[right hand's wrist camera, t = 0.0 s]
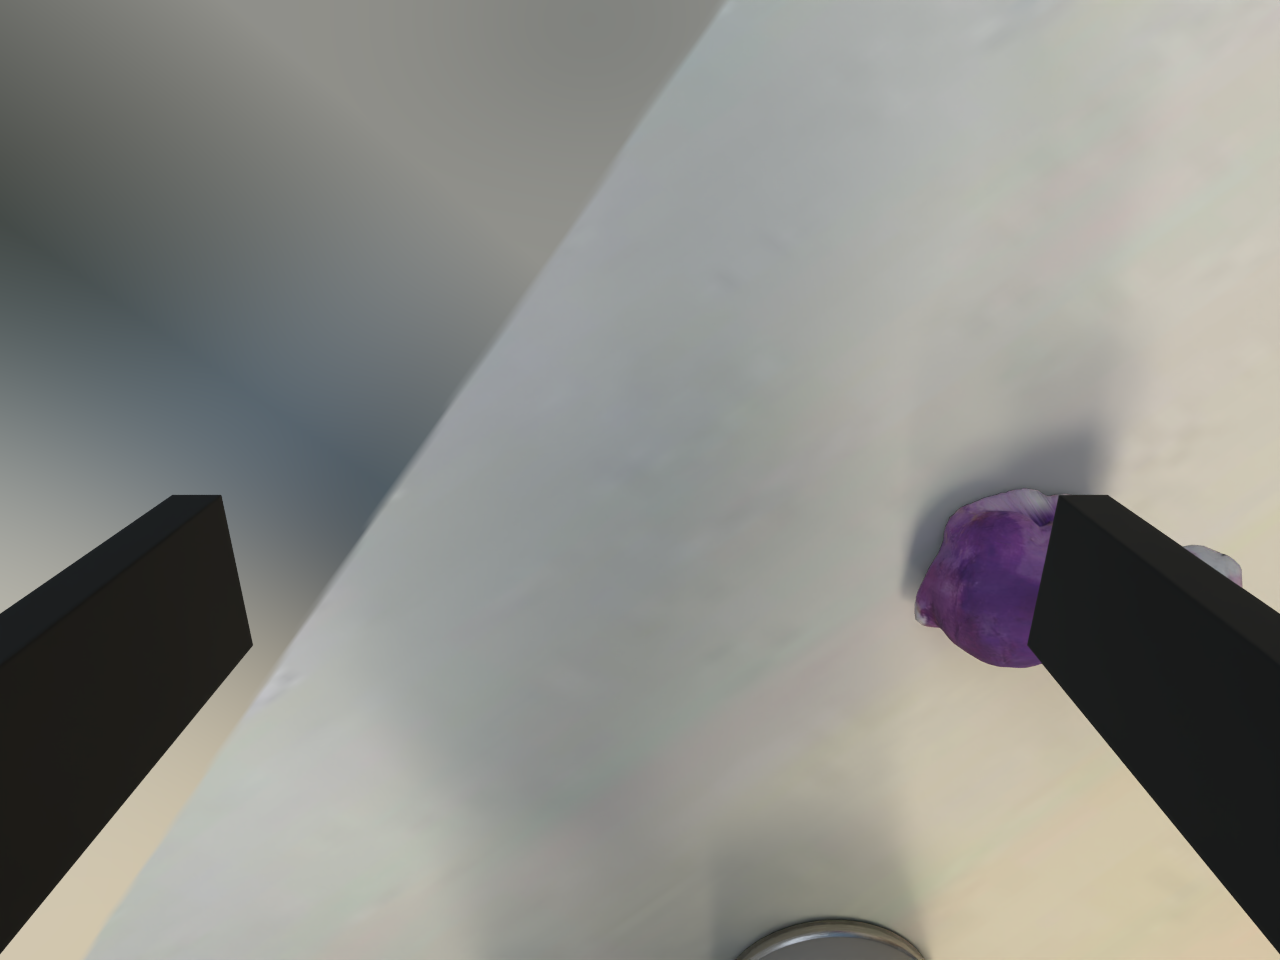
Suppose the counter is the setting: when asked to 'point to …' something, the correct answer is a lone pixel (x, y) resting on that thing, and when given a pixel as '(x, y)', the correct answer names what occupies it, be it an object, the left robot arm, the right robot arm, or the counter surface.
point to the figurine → (1002, 575)
